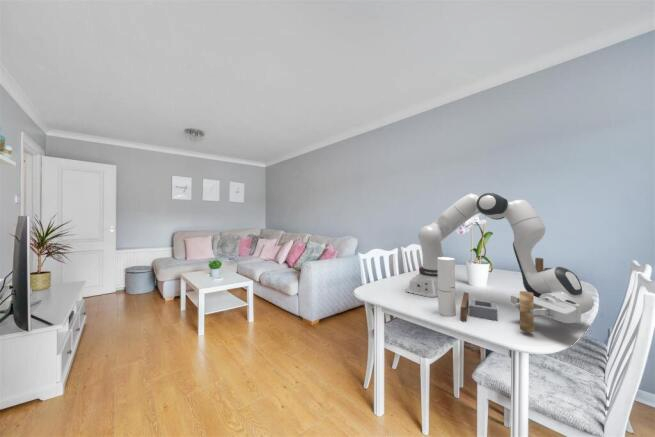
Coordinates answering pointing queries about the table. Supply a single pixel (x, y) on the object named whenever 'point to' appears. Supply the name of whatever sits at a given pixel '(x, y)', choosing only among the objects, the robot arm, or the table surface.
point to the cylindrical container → (446, 286)
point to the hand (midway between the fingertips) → (524, 308)
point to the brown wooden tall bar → (526, 312)
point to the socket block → (483, 309)
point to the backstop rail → (464, 306)
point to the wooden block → (540, 265)
